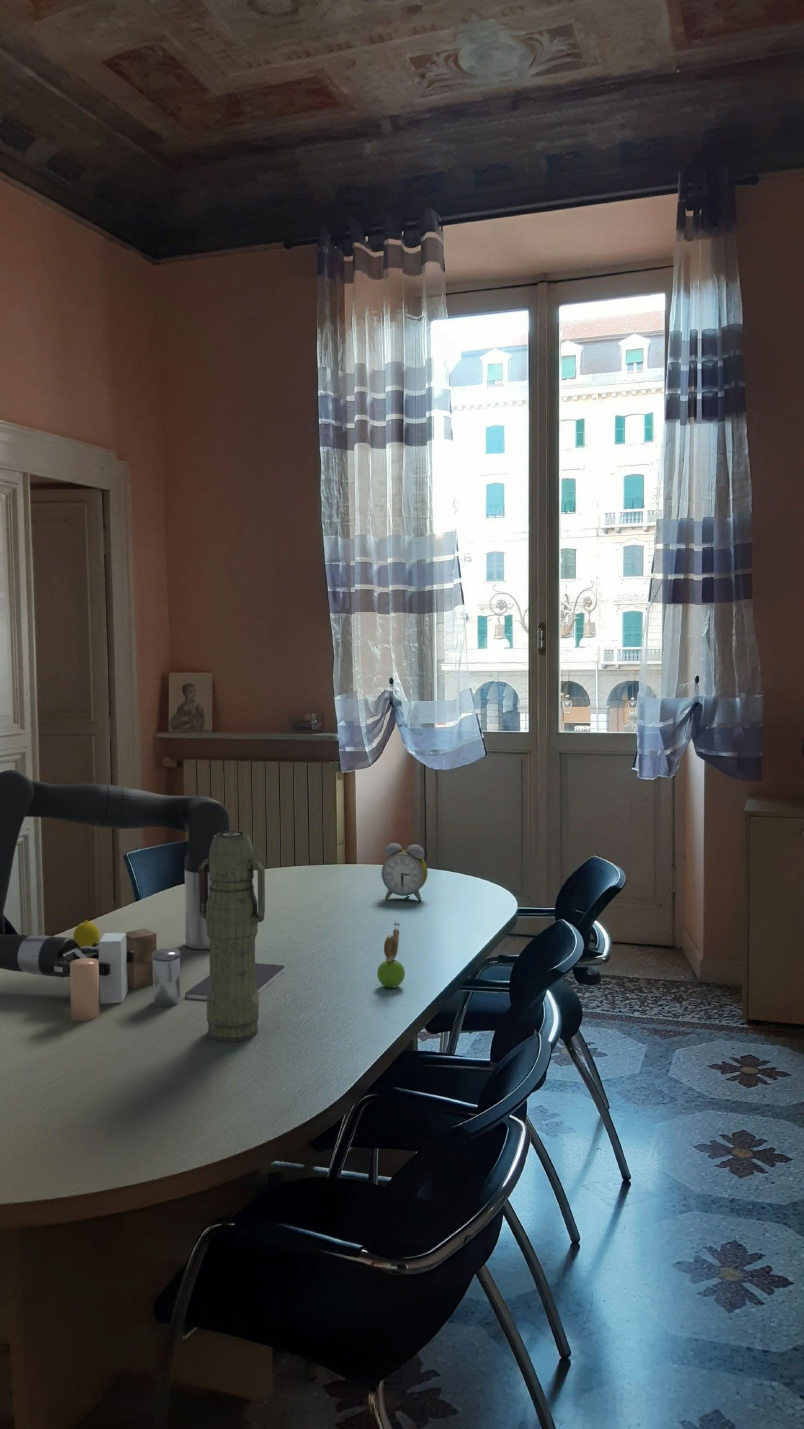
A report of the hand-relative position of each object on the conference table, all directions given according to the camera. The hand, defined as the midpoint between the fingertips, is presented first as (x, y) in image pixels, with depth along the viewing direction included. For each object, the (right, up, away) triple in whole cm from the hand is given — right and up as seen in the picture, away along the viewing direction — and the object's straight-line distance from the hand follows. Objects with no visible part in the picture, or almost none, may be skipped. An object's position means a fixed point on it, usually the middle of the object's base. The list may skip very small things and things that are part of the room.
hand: (121, 963), depth 201 cm
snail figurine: (+51, -7, +9) cm, 52 cm away
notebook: (+20, -7, +10) cm, 24 cm away
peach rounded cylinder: (-4, -8, -9) cm, 12 cm away
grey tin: (+9, -7, -1) cm, 11 cm away
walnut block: (+1, -6, +11) cm, 12 cm away
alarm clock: (+54, -2, +81) cm, 97 cm away
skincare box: (-2, -7, +1) cm, 7 cm away
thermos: (+24, -8, -17) cm, 30 cm away
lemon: (-15, -5, +28) cm, 32 cm away
